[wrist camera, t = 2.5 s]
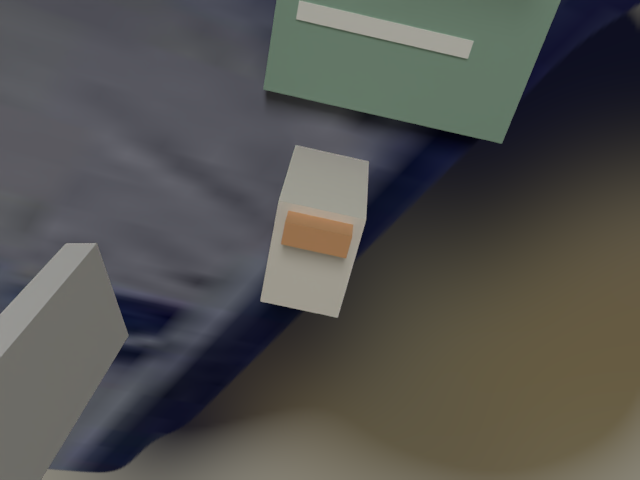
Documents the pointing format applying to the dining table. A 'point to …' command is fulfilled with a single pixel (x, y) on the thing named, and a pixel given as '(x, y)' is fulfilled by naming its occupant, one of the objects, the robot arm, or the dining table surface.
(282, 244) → the plug
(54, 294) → the robot arm
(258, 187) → the dining table surface
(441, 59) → the board
